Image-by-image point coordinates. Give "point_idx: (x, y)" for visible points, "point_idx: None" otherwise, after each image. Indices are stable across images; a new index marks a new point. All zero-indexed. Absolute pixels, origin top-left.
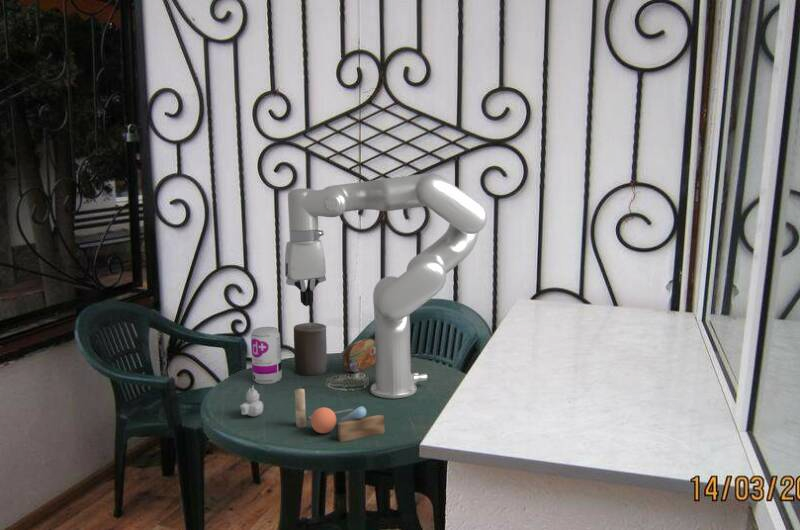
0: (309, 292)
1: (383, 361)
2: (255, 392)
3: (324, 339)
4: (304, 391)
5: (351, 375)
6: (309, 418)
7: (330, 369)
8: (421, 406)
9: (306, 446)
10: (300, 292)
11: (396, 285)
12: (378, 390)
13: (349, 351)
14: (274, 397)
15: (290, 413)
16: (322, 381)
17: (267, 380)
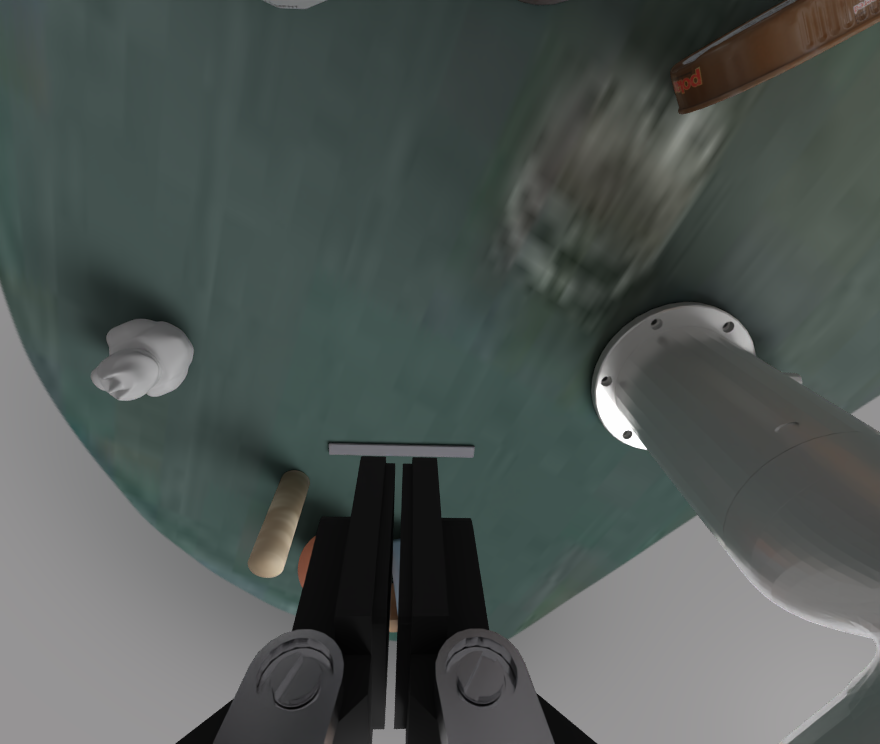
0: (405, 726)
1: (671, 477)
2: (130, 398)
3: None
4: (282, 568)
5: (663, 118)
6: (331, 453)
7: None
8: (643, 511)
9: (275, 582)
10: (294, 630)
11: None
12: (613, 389)
13: (738, 82)
14: (268, 208)
15: (289, 387)
16: (517, 123)
17: (266, 1)
